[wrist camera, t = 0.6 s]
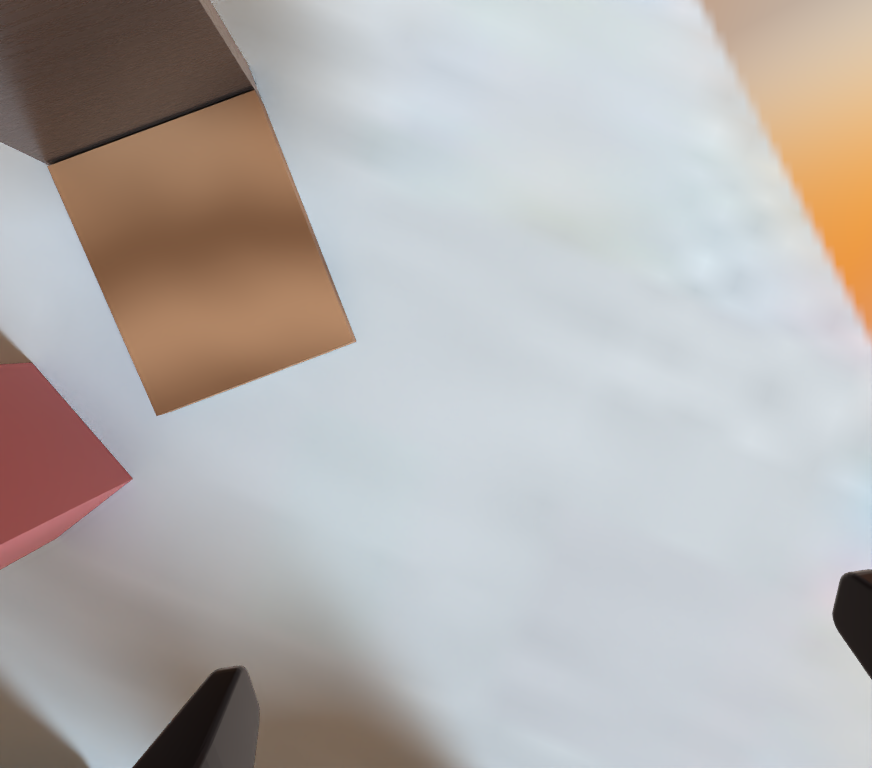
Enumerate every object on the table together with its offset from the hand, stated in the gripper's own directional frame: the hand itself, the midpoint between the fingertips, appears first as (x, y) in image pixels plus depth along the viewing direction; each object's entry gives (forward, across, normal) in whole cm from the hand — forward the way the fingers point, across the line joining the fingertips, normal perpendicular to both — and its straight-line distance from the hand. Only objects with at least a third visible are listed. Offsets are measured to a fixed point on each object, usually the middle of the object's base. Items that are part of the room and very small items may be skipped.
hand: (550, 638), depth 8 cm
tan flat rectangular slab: (+16, +9, -4) cm, 19 cm away
